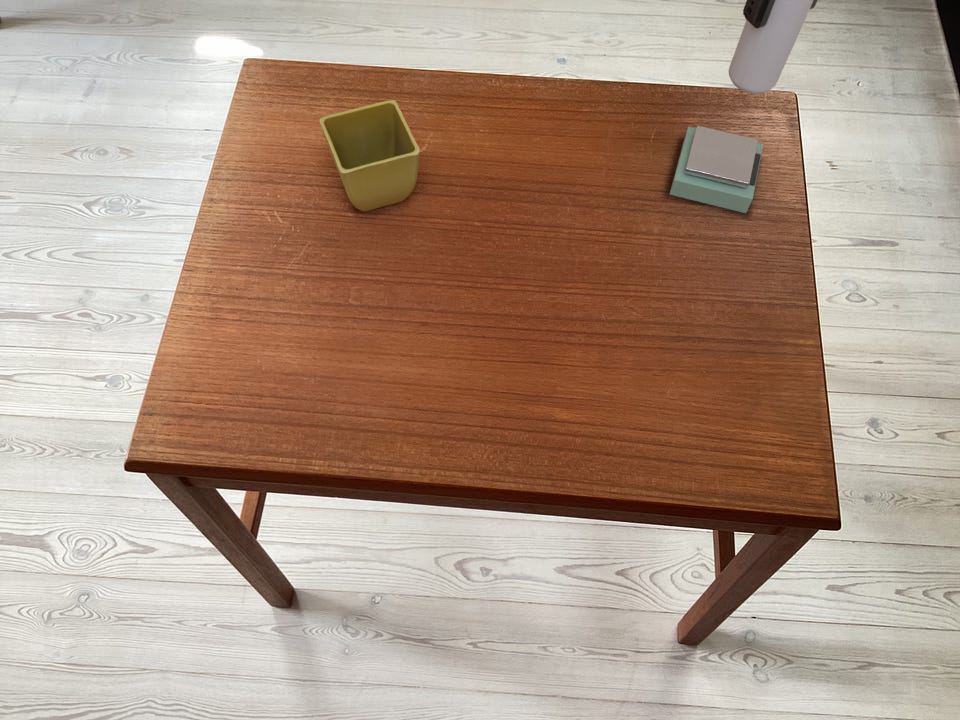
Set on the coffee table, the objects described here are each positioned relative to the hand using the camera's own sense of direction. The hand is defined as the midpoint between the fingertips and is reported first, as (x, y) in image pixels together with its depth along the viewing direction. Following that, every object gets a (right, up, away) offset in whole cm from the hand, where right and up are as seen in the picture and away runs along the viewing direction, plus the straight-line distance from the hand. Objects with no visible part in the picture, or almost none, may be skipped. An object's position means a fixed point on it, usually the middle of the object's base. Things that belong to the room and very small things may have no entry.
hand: (778, 12), depth 69 cm
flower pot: (-39, -11, +22) cm, 46 cm away
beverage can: (0, -4, +7) cm, 8 cm away
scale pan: (+1, -8, +20) cm, 22 cm away
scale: (+1, -9, +23) cm, 25 cm away
